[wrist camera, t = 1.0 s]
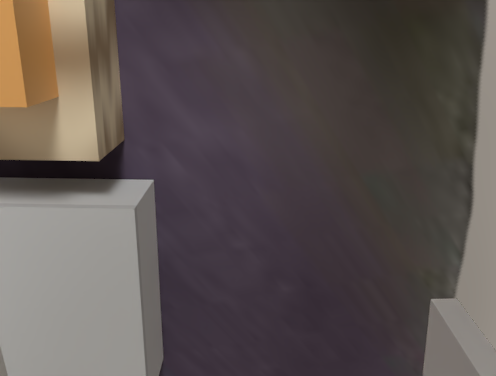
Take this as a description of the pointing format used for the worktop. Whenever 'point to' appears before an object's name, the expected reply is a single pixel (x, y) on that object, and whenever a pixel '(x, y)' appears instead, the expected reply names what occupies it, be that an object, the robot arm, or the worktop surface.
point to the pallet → (73, 91)
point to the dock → (79, 277)
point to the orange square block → (26, 54)
